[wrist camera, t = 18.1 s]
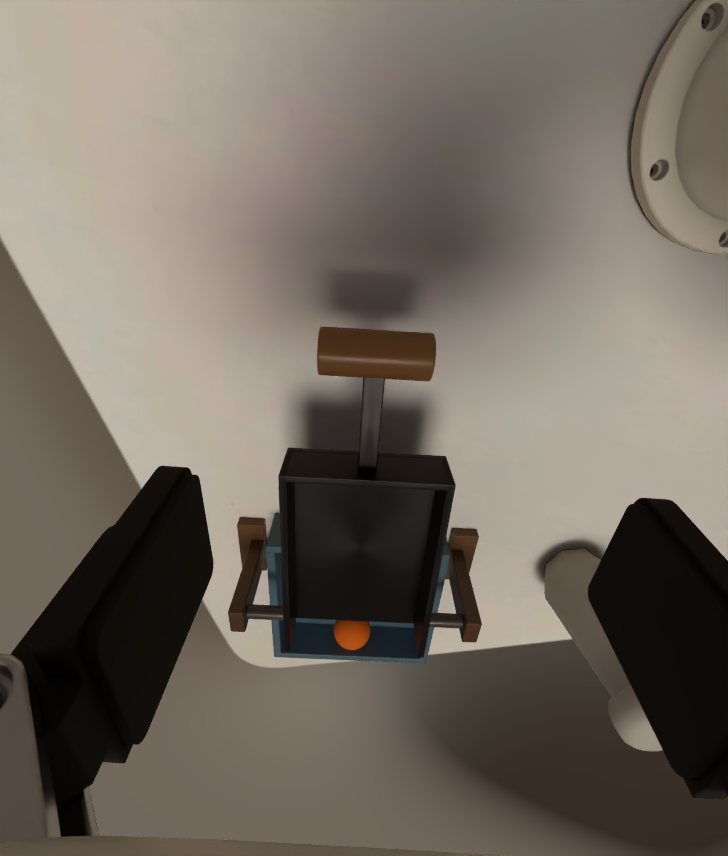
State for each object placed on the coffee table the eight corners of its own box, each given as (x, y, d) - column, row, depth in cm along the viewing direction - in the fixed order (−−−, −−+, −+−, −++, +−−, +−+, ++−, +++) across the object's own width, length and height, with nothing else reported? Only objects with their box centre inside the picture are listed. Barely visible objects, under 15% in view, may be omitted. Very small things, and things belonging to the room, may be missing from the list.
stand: (239, 517, 34) (209, 596, 27) (476, 529, 34) (502, 610, 28) (244, 562, 36) (218, 644, 30) (465, 572, 37) (486, 656, 30)
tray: (274, 513, 33) (265, 546, 30) (443, 521, 34) (450, 555, 31) (281, 621, 40) (274, 657, 37) (421, 627, 40) (426, 663, 37)
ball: (331, 657, 36) (334, 626, 39) (369, 659, 36) (369, 627, 39) (332, 631, 35) (335, 600, 38) (372, 633, 35) (371, 602, 38)
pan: (285, 317, 21) (273, 331, 18) (467, 328, 21) (481, 344, 18) (291, 613, 29) (284, 651, 27) (418, 619, 30) (424, 657, 27)
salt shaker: (520, 574, 37) (588, 749, 25) (567, 530, 34) (665, 703, 23) (572, 596, 38) (659, 772, 27) (621, 556, 35) (739, 731, 24)
